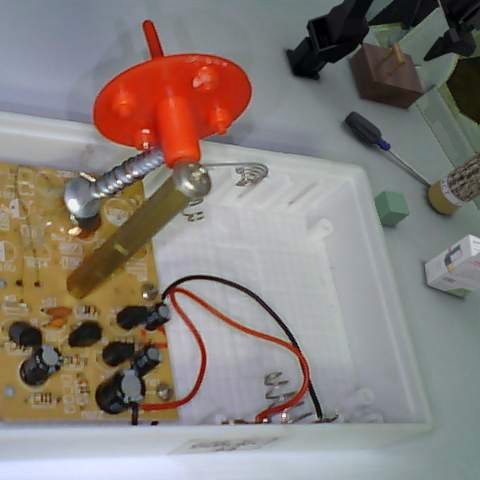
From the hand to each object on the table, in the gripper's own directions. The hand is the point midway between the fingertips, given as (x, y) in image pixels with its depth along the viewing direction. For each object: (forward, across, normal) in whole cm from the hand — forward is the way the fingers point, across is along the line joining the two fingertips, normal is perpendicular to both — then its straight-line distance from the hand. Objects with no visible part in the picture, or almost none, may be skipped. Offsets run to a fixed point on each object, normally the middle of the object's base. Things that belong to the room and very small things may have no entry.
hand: (418, 43), depth 160 cm
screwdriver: (+13, -20, +3) cm, 25 cm away
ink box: (+13, -47, 0) cm, 49 cm away
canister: (+13, -29, -6) cm, 32 cm away
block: (+13, -34, +10) cm, 38 cm away
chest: (+13, 0, 0) cm, 13 cm away
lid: (+8, 0, 0) cm, 8 cm away
